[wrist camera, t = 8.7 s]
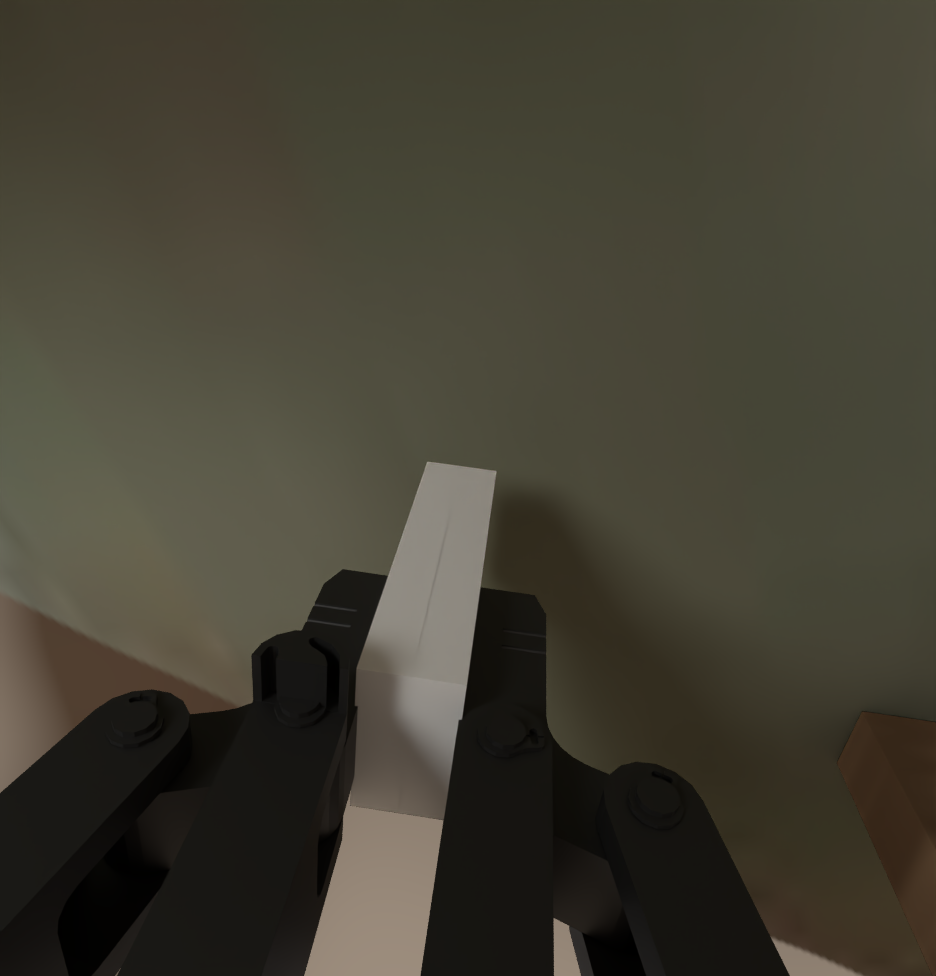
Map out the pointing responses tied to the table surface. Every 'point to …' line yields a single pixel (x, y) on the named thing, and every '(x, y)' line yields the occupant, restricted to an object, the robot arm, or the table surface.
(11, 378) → the table surface
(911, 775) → the bridge
